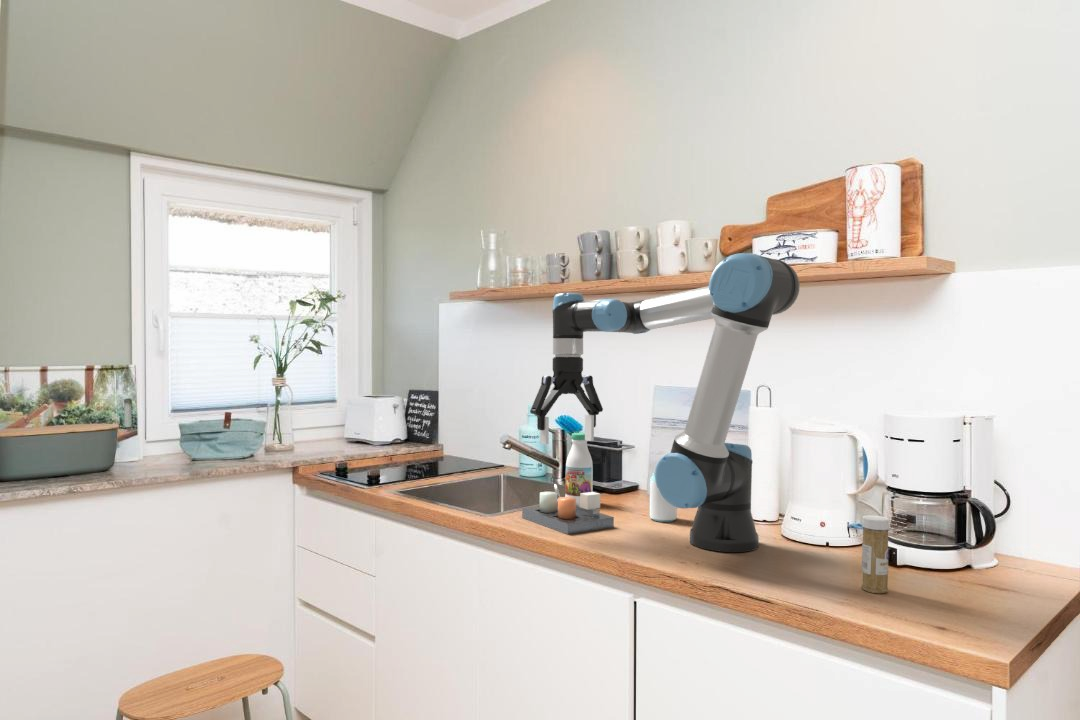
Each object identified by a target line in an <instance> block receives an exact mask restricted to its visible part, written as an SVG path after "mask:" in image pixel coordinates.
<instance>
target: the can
mask: <svg viewBox="0 0 1080 720" xmlns="http://www.w3.org/2000/svg"><path fill="white" fill-rule="evenodd" d="M651 474H652V475H651V477H650V479H649V507H648V508H649V512H648V513H649V516H648V517H649V518H651V519H652V521H655V522H659V523H660V522H661V523H670V522H671V523H672V522H674V520H677V518H678V507H675V506H673V505H671V504H670V503H668V502H667V501H666V500H665V499H664V498H663V497H662V495H661V494H660V491H659V488H657V485H656V481H655V472H652V473H651Z"/></svg>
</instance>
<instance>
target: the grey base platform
mask: <svg viewBox="0 0 1080 720" xmlns="http://www.w3.org/2000/svg"><path fill="white" fill-rule="evenodd" d="M553 488H554V492H556V493H557V512H553V513H544V512H540V505H539V506H537V505H536V506H531V507H530V506H528V507H522V509H521V510H522V511H521V513H522V514H521V518H522V519H524V520H527V521H530V522H533V523H535V524H537V525H541V526H543V527H545V528H546V527H547V528H549V529H552V530H555V531H557V532H559V533H562V534H565V535H572V534H573V535H575V534H578V533H579V534H580V533H586V532H592V531H599V530H604V529H611V528H614V527H615V526H614V525H615V524H614V519H615V517H614V516H611V515H607V514H605V513H602V512H600V509H598V508H596V509H588V510H587V509H584V508H581V507H580V504H577V503H576V517H575V518H573V519H561V518H558V498H560V497H561V495H560V494H561V493H560V490H559V485H558V484H556V483H555V484H553Z"/></svg>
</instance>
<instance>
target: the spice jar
mask: <svg viewBox="0 0 1080 720" xmlns="http://www.w3.org/2000/svg"><path fill="white" fill-rule="evenodd" d="M861 518H862V520H861V526H862V543H861V544H862V545H861V546H862V547H861V548H862V550H861V551H862V554H861V555H862V556H861V557H862V559H861V571H862V581H861V582H862V583H861V589H862V590H864V591H866V592H868V593H872V594H886V593H888V592H889V586H888V585H889V583H888V579H889V577H888V576H889V575H888V574H889V529H890V525H891V523H890V522H891V521H890V519H889V517H886V516H883V515H875V514H867V515H863V516H862V517H861Z"/></svg>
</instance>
